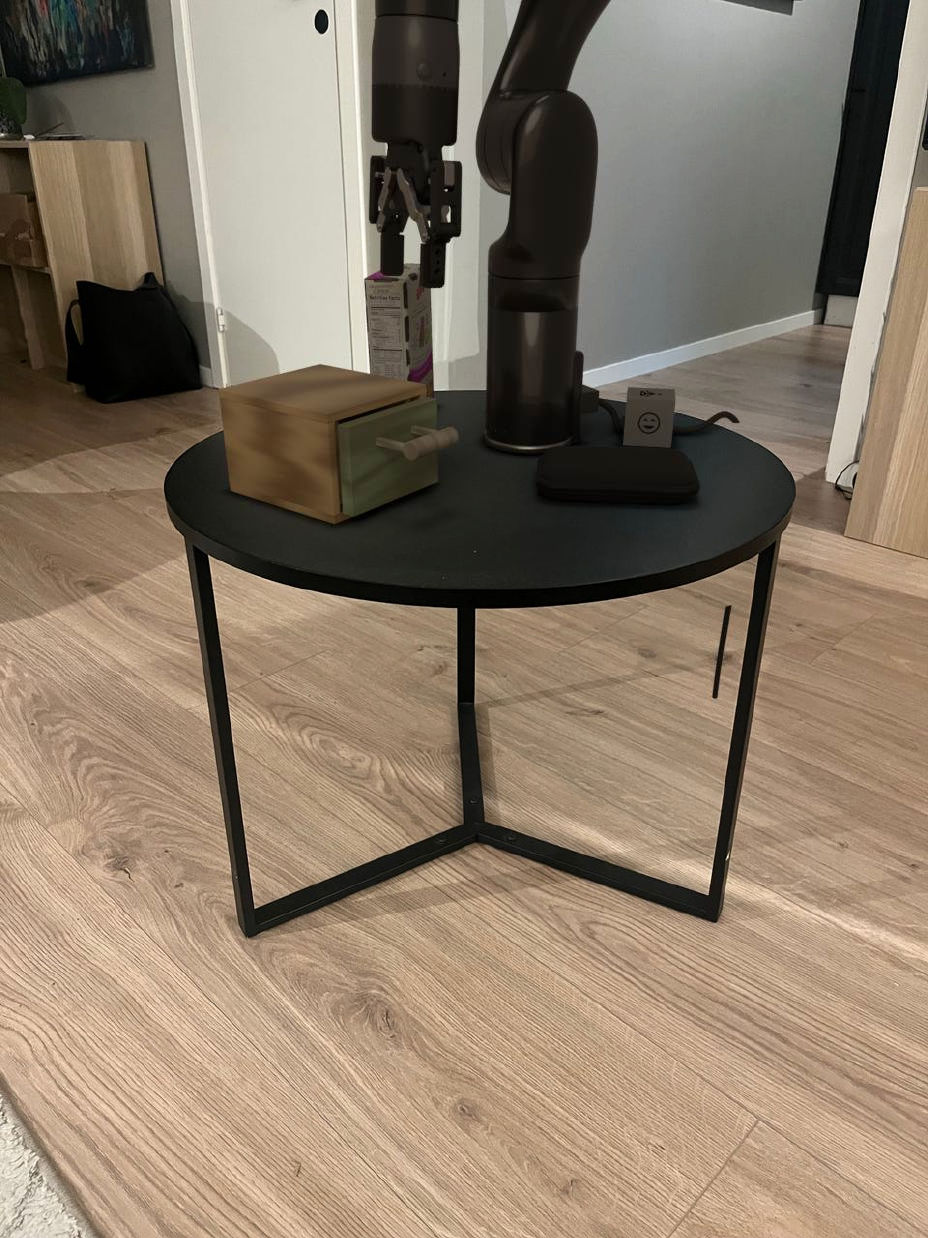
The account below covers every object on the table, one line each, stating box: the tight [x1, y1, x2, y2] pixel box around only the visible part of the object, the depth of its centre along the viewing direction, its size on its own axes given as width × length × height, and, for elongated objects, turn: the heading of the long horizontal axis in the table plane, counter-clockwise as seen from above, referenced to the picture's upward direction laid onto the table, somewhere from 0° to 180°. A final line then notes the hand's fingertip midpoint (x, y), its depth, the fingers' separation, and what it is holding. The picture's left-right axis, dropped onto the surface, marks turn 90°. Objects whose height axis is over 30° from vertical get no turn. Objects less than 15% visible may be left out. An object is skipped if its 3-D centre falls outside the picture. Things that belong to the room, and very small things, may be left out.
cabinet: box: [218, 363, 427, 525], centre depth 87 cm, size 14×13×10 cm
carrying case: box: [535, 445, 701, 505], centre depth 89 cm, size 11×3×15 cm
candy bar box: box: [363, 262, 435, 398], centre depth 107 cm, size 11×5×16 cm, turn 168°
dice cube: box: [622, 386, 676, 449], centre depth 102 cm, size 5×5×5 cm
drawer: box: [334, 397, 460, 518], centre depth 85 cm, size 17×11×8 cm, turn 52°
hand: (411, 281), depth 89 cm, fingers open, 8 cm apart
